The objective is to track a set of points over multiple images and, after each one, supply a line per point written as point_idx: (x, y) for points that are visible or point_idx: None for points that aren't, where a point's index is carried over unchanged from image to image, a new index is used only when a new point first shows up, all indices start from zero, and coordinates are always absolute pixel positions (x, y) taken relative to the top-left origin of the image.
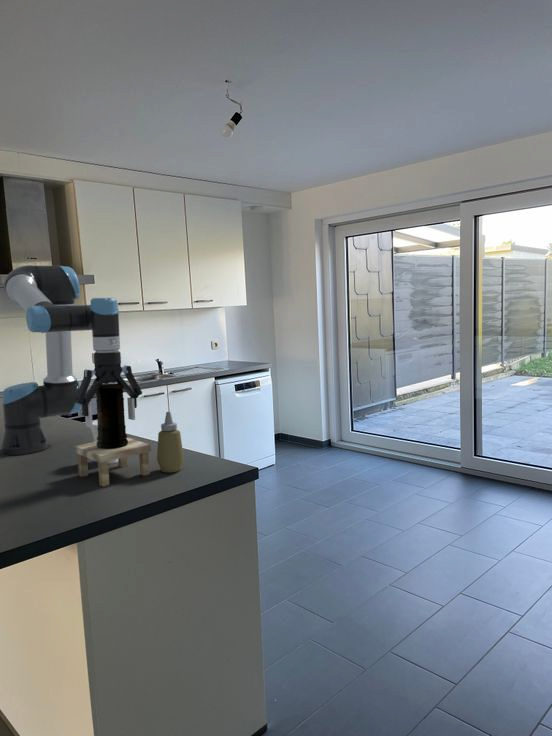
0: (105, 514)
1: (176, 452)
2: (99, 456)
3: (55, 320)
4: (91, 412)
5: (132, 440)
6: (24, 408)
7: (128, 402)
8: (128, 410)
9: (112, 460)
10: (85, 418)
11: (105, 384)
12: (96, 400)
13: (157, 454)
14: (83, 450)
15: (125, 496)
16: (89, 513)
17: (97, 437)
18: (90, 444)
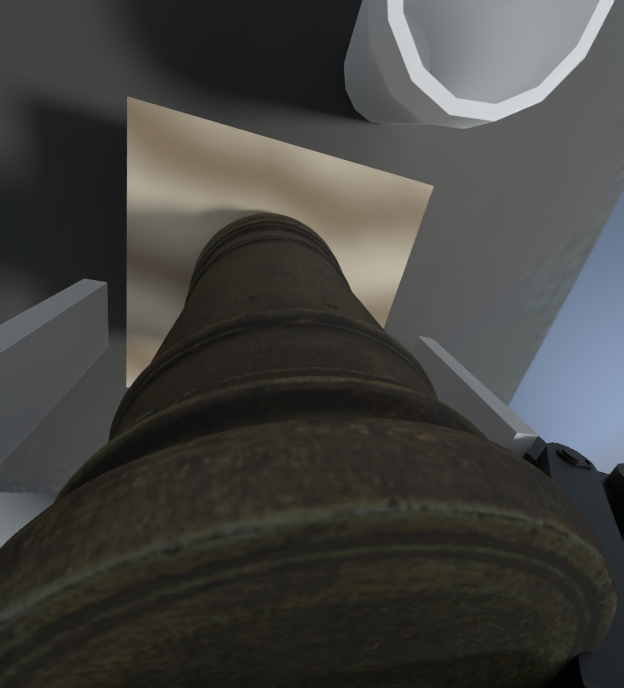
0: (66, 480)
1: None
2: (127, 380)
3: None
4: (41, 416)
5: (378, 302)
6: None
7: (480, 415)
8: (443, 371)
9: (372, 121)
10: (47, 300)
11: (381, 622)
12: (119, 414)
13: None
14: (128, 227)
15: None
16: (37, 453)
17: (199, 267)
18: (215, 164)
